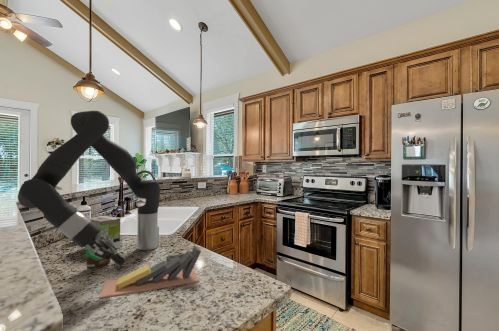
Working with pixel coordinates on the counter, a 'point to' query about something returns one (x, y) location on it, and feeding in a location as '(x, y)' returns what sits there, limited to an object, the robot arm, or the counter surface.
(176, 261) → the charcoal domino
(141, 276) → the ochre domino
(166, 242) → the counter surface
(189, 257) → the charcoal domino
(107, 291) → the terracotta mat
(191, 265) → the charcoal domino
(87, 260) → the food container
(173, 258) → the egg carton
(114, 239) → the tea box
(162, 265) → the charcoal domino
